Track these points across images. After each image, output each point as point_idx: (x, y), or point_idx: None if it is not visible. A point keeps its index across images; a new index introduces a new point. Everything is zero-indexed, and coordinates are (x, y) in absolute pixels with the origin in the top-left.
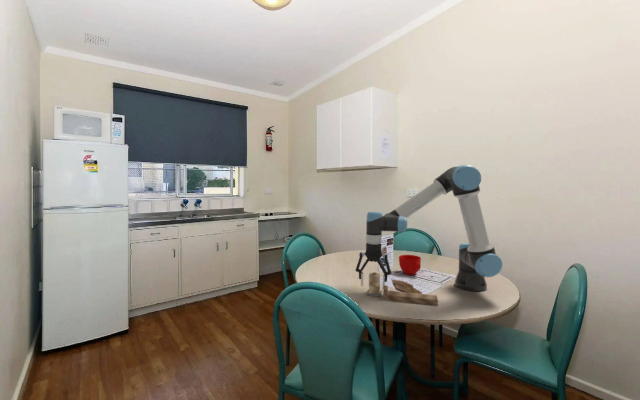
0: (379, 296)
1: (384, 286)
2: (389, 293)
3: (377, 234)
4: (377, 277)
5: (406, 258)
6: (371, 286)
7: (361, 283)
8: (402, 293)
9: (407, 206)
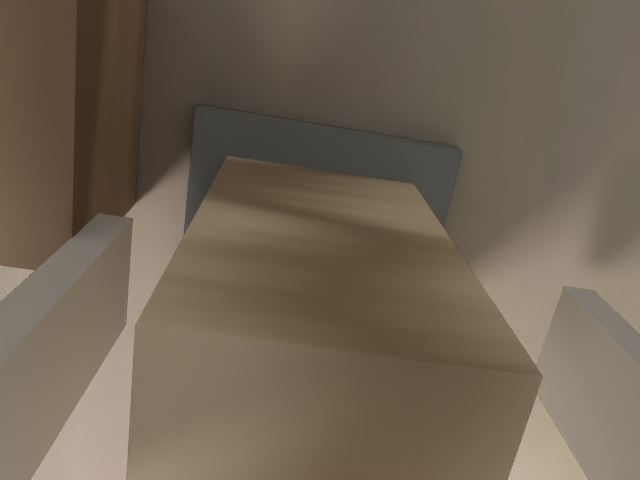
0: (221, 110)
1: (64, 197)
2: None
3: None
4: (208, 308)
5: None
6: (382, 222)
7: (612, 318)
8: None
9: None
